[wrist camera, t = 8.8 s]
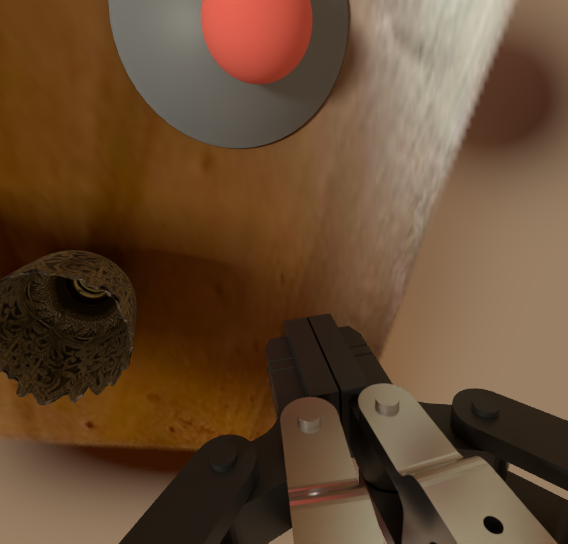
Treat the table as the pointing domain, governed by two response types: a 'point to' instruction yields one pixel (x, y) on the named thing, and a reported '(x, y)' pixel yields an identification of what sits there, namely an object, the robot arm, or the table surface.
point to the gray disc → (222, 73)
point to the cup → (66, 325)
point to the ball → (257, 36)
